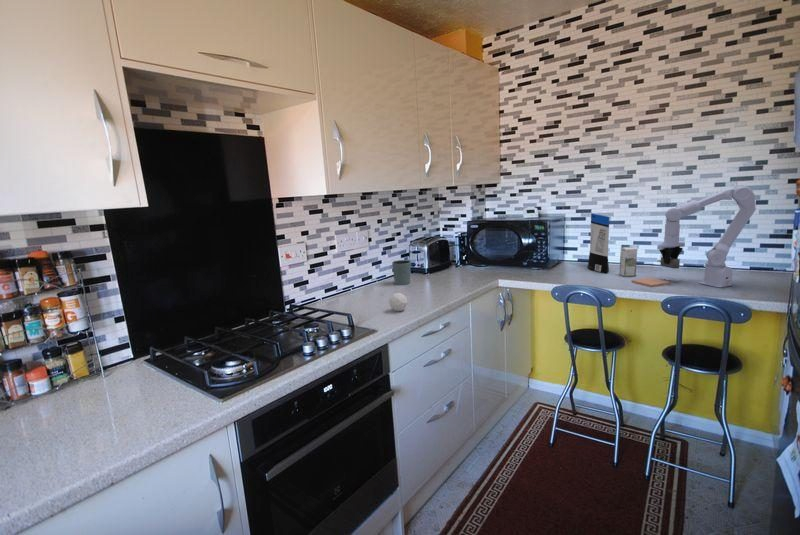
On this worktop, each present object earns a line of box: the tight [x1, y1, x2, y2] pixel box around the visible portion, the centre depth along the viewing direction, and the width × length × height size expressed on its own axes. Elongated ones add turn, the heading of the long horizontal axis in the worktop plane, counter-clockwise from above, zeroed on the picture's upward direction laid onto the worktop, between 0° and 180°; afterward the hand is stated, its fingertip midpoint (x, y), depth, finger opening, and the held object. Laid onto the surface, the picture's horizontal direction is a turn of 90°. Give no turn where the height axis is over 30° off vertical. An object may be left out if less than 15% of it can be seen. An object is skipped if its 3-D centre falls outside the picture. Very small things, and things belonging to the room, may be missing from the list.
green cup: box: [391, 259, 412, 286], centre depth 225 cm, size 10×10×12 cm
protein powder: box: [587, 213, 610, 275], centre depth 227 cm, size 10×24×30 cm, turn 176°
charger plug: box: [656, 256, 681, 269], centre depth 196 cm, size 10×4×4 cm, turn 18°
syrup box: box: [619, 246, 638, 277], centre depth 211 cm, size 6×6×14 cm
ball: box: [388, 292, 408, 312], centre depth 178 cm, size 8×8×8 cm
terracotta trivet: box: [631, 277, 671, 288], centre depth 196 cm, size 11×11×1 cm
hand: (670, 263), depth 195 cm, fingers closed on charger plug, 4 cm apart
